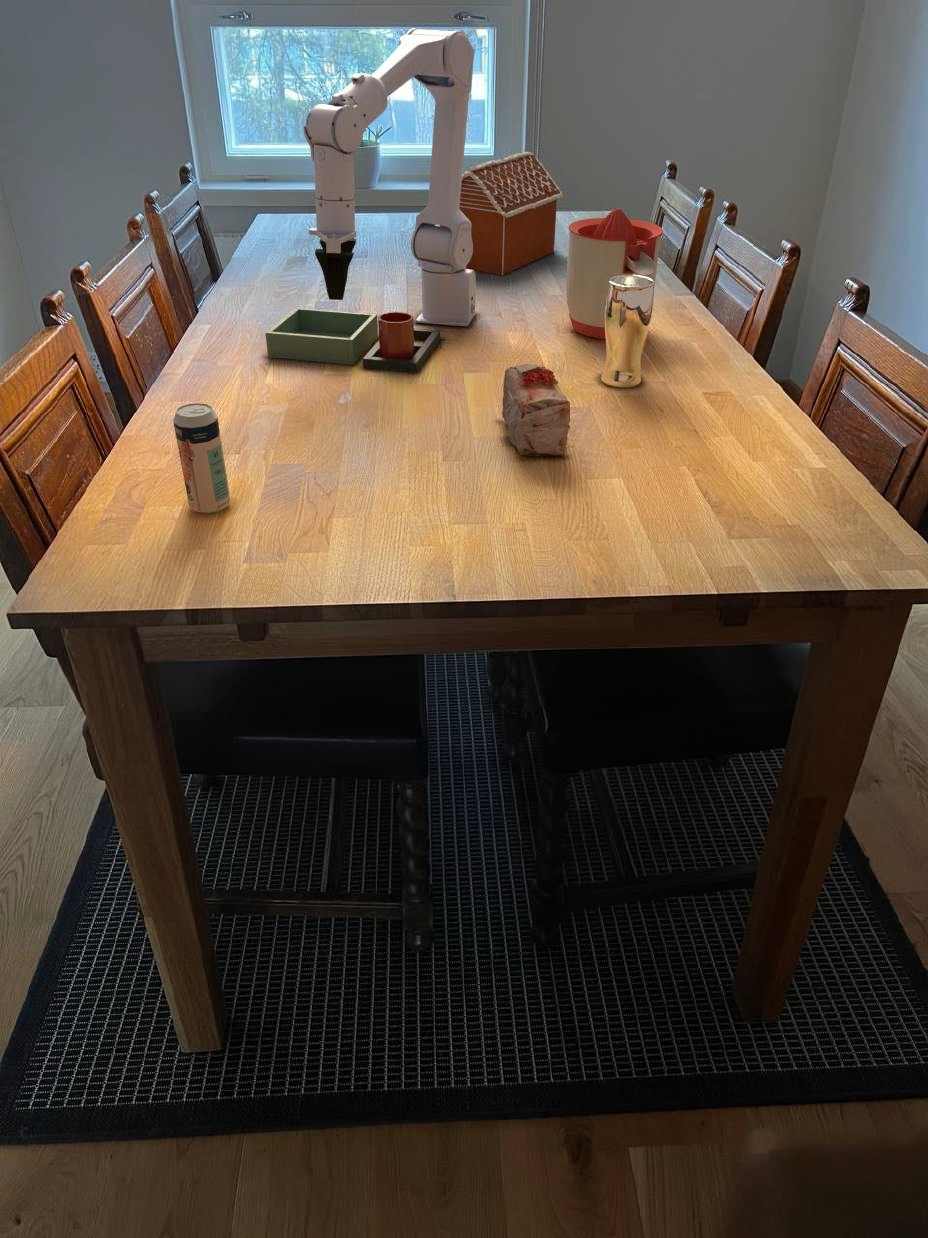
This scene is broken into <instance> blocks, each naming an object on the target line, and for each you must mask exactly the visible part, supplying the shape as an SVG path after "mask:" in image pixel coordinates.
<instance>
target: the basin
mask: <svg viewBox="0 0 928 1238" xmlns="http://www.w3.org/2000/svg"><path fill="white" fill-rule="evenodd" d="M264 334H265V341H266V343H265V344H266V350H267V358H272V359H282V360H283V359H284V360H285V359H286V360H294V361H295V360H296V361H306V362H319V363H330V364H331V363H332V364H343V365H350V366H351V365H355V364H356V363H357V362H358V361H359V360H360V359H361V357H362V356H364V354H365V353H366V352H367V351H368V349H370V347H371V346H372V345H373V344H374V343H375V342H376V341H377V339H379V329H378V314H377V313H368V312H367V313H366V312H355V311H342V310H331V309H317V308H305V307H304V308H303V307H295V308H294V309H292V310H291V311H290V312H289V313H287V315H286V316H284V317H283V318H282V319H280V320H279V321H278V322H276V324H274V325H273V326H272V327H271V328H269V329H268V330H266V332H265V333H264Z"/></svg>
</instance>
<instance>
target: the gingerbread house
mask: <svg viewBox="0 0 928 1238" xmlns="http://www.w3.org/2000/svg"><path fill="white" fill-rule="evenodd" d="M563 196H564V194H563V191H561V189H560V187H559V186H558V185H557V184H556V181H554V179H553V177H552V176H551V174H549V171H547V170H546V168H545V166H544V165H543V163H542V162H541V161H540V160H539V158H537V157H536V156H535V155H534V153H533V152H531V151H524V152H519V153H517V152H516V153H514V154H511V155H509V156H507V157H504V158H501V159H497V160H496V159H493V160H491V159H490V160H489V161H486V162H483V163H480V164H477V165H475V166H470V168H469V169H467V170H466V171H464V173H462V182H461V194H460V206H459V209H460V210H461V212H462V213H463V214H464V215H465V216H466V217H467V218H468V219H469V221H470V222H471V224H472V227H471V237H472V242H473V253H472V257H471V259H470V261H469V263H468V264H467V265H466V268H465V269H470V270H474V271H477V272H483V273H488V274H494V275H499V276H504V275H505V274H508V273H509V272H510V273H511V272H512V271H514V270H516V269H518V268H521V267H523V266H526V265H528V264H530V263H531V262H532V263H533V262H534V261H536V260H539V259H541V258H543V257H545V256H548V255H550V254H552V253H554V252H555V241H556V225H557V207H558V200H559V199H560V200H563ZM439 227H444V228H449V227H447V226H442V225H439ZM449 229H450V228H449Z"/></svg>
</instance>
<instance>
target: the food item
mask: <svg viewBox="0 0 928 1238" xmlns="http://www.w3.org/2000/svg"><path fill="white" fill-rule="evenodd" d="M554 372H555V371H552V370H550V369H549V368H547V367H545V366H543V365H539V364H538V365H537V364H532V363H531V364H530V363H529V364H528V363H525V364H520V365H515V366H510V367H507V368H506V369H505V370H504V376H503V377H504V378H503V385H502V386H503V387H502V391H503V396H502V412H501V413H502V414H501V415H502V418H503V420H504V422H505V424H506V425H507V430H508V434H507V435H508V442H510V443H511V444H512V445H513V446H514V447H515V448H516V449H517V450H518V454H519V455H520V456H528V457H559V456H562V457H563V456H564V454H565V453H566V448H567V443H568V435H569V430H570V429H571V425H570V422H571V402H570V401H569V400H568V398H567V396H566V395H565V393H564V391H563V390H562V389H561V388H560V386H559V385H558V384H559V380H557V378H555V375H554Z"/></svg>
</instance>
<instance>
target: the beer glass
mask: <svg viewBox="0 0 928 1238" xmlns="http://www.w3.org/2000/svg"><path fill="white" fill-rule="evenodd" d="M654 283H655V284H656V281H655V282H654V280H652V279H650V278H648V277H644V276H639V275H618V276H614V277H612V278H610V279H609V286H608V292H607V297H606V305H605V317H604V319H605V338H606V339H605V351H606V352H605V363H604V367H603V370H602V373H601V377H600V379H601V381H602V382H603V384H604V385H607V386H610V387H615V388H633V387H637V386H638V385H639V384H640V383H641V382H642V370H641V361H642V354H643V350H644V347H645V344H646V340H647V337H648V334H649V330H650V328H651V327H650V326H651V323H652V318H653V317H652V316H653V312H654V311H653V310H654V301H655V300H654V298H655V297H654V296H655V285H654Z"/></svg>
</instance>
